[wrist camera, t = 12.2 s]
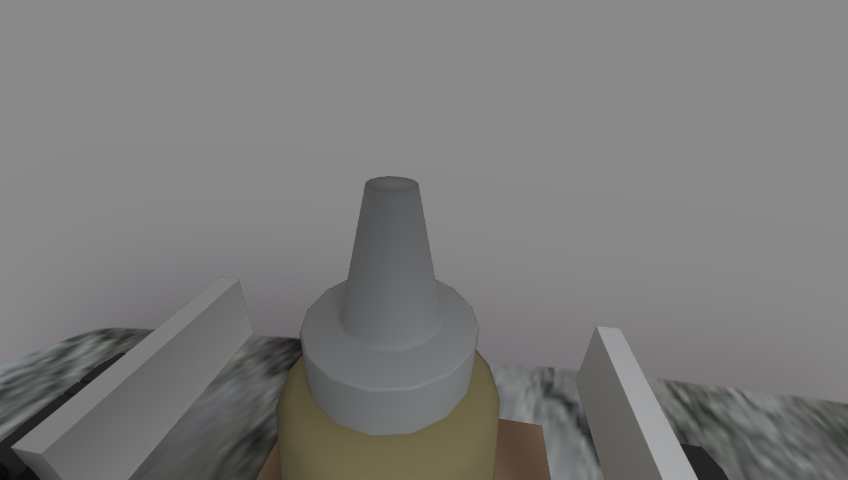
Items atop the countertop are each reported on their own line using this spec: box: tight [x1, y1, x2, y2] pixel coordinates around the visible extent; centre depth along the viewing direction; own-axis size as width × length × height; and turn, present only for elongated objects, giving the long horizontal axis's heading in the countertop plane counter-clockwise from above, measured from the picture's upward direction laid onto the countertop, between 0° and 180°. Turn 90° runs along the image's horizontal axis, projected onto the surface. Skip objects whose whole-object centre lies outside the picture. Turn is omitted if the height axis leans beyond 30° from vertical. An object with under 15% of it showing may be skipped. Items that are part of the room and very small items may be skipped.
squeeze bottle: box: [276, 176, 500, 480], centre depth 11 cm, size 8×8×18 cm
